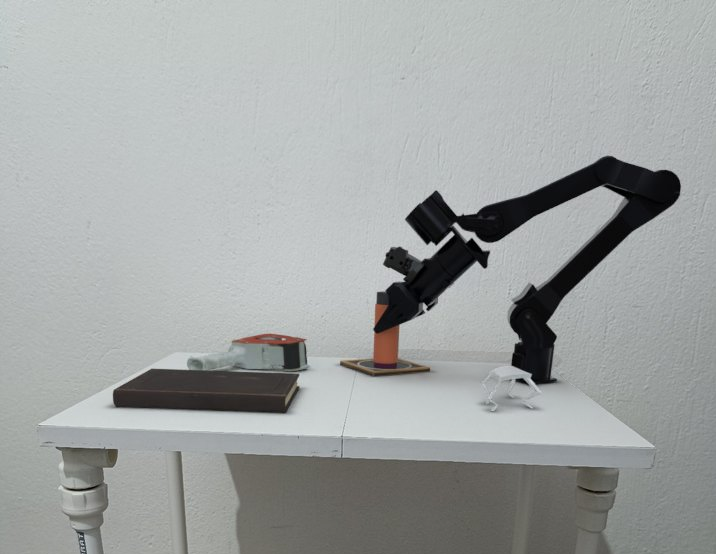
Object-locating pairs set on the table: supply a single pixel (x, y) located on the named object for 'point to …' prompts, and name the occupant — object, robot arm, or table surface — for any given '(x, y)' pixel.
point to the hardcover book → (209, 390)
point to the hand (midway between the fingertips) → (379, 329)
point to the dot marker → (385, 338)
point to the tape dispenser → (257, 354)
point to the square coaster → (368, 368)
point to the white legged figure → (509, 374)
